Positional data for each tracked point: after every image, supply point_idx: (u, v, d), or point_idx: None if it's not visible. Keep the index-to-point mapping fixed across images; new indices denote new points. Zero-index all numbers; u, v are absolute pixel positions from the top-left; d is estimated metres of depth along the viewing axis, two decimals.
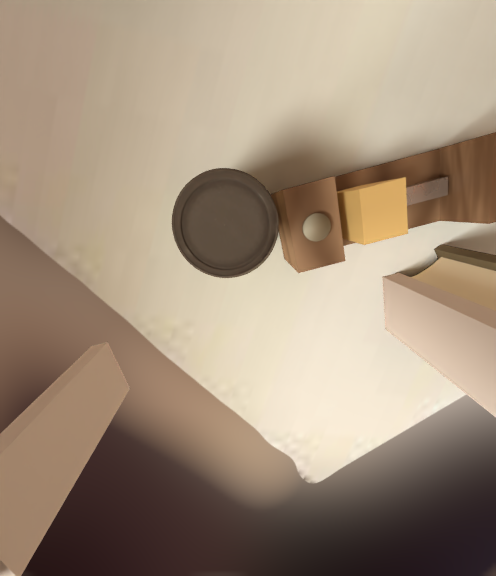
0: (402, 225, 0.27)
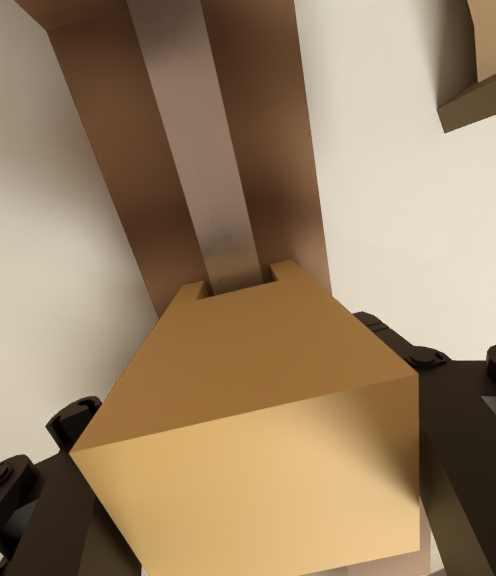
0: (358, 414, 0.04)
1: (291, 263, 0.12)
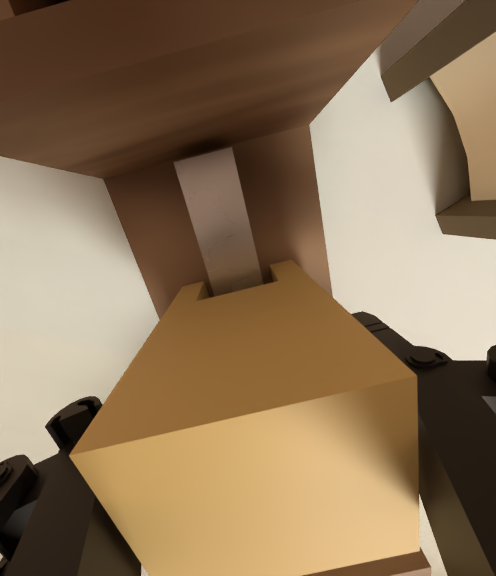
0: (357, 416, 0.04)
1: (291, 263, 0.12)
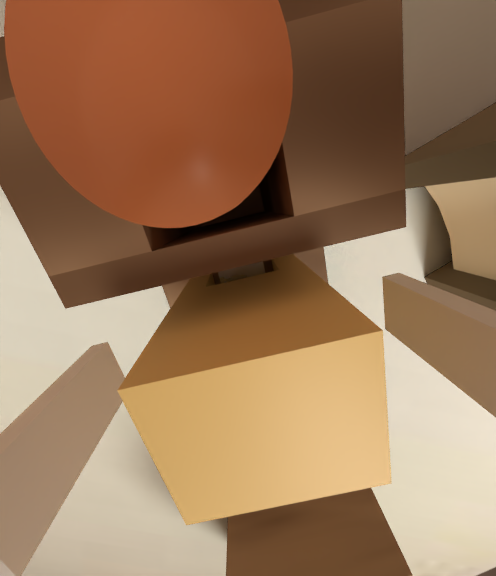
0: (337, 363, 0.05)
1: (290, 255, 0.13)
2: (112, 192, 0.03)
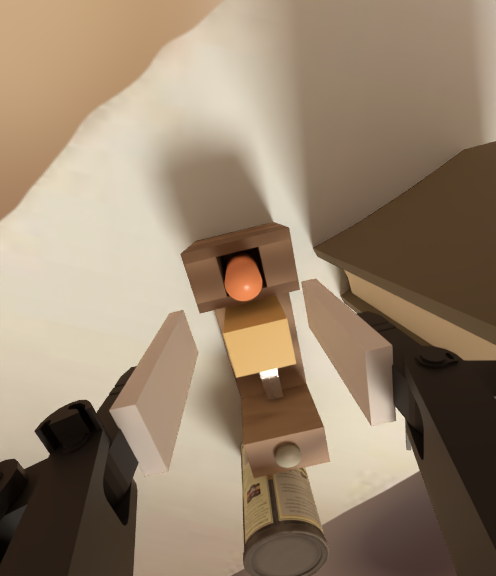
0: (277, 326, 0.22)
1: None
2: (235, 296, 0.20)
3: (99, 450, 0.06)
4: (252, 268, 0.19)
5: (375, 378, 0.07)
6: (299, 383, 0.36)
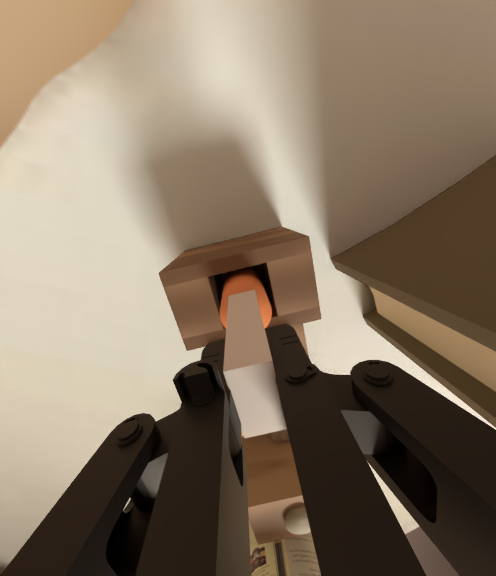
0: None
1: None
2: None
3: (224, 411, 0.06)
4: (258, 293, 0.14)
5: (262, 390, 0.07)
6: None
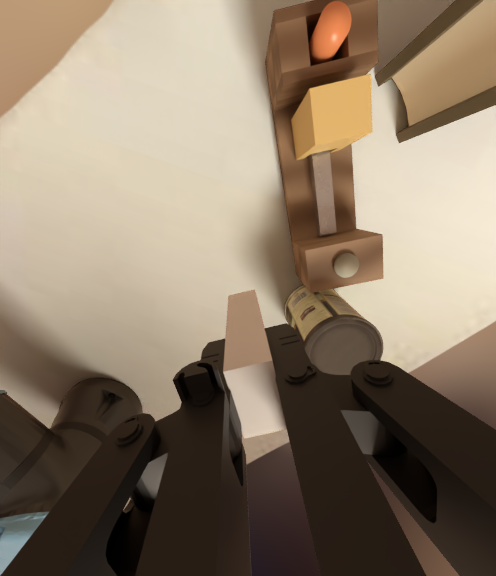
0: (360, 83, 0.24)
1: None
2: (326, 37, 0.23)
3: (224, 411, 0.06)
4: (344, 5, 0.22)
5: (262, 390, 0.07)
6: (349, 227, 0.38)
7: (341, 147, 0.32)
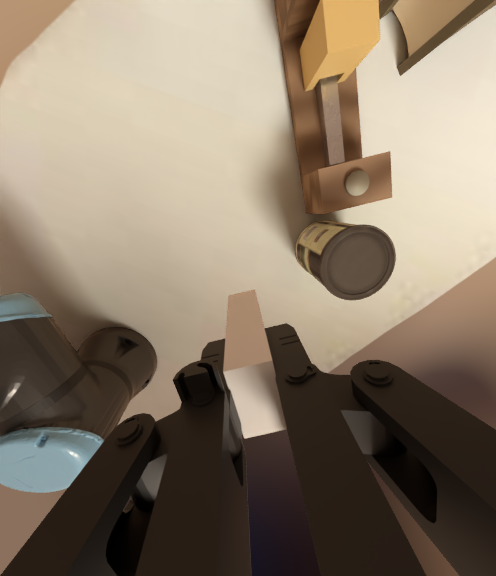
0: None
1: None
2: None
3: (224, 411, 0.06)
4: None
5: (262, 390, 0.07)
6: (356, 160, 0.40)
7: (348, 72, 0.33)
